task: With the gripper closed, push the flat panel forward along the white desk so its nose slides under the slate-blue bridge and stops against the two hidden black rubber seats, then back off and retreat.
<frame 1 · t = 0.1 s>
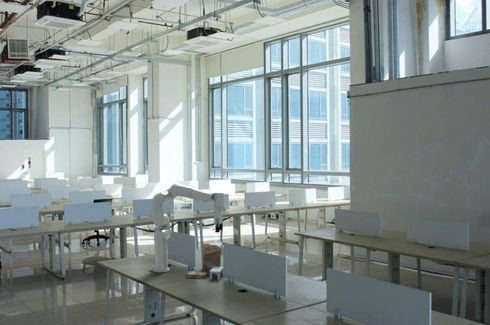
hand: (218, 231, 389), 31 cm above the table, fingers open, 9 cm apart
stone: (212, 270, 397), on the table
panel: (197, 277, 380), on the table
bridge: (216, 277, 377), on the table
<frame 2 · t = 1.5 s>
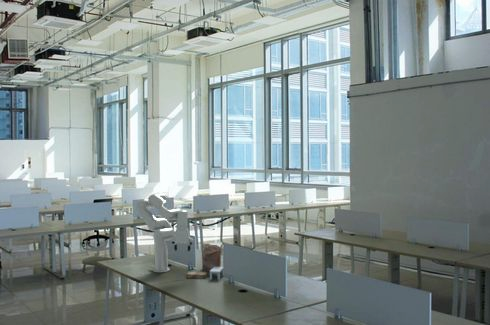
hand: (182, 250, 381), 18 cm above the table, fingers open, 9 cm apart
nothing on the table moved.
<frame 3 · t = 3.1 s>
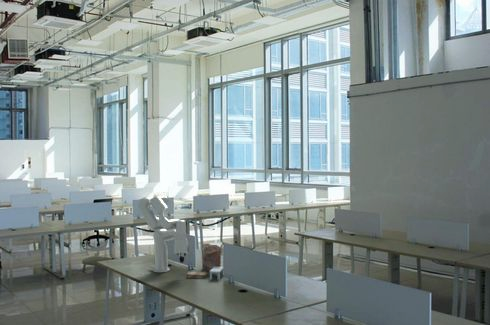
hand: (181, 262, 381), 10 cm above the table, fingers closed
nothing on the table moved.
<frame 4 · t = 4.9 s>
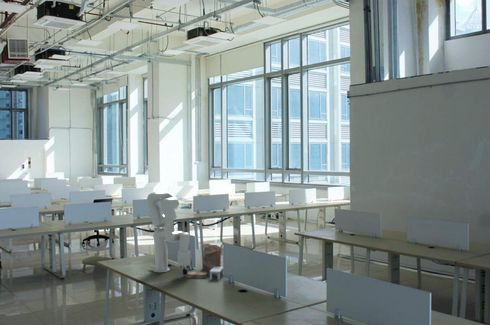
hand: (184, 274, 381), 1 cm above the table, fingers closed
nothing on the table moved.
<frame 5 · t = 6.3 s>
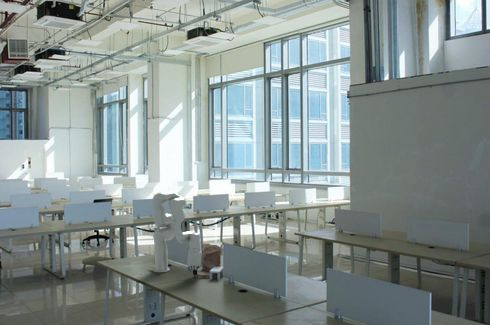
hand: (195, 275, 380), 1 cm above the table, fingers closed
panel: (207, 277, 379), on the table
everything else where it was.
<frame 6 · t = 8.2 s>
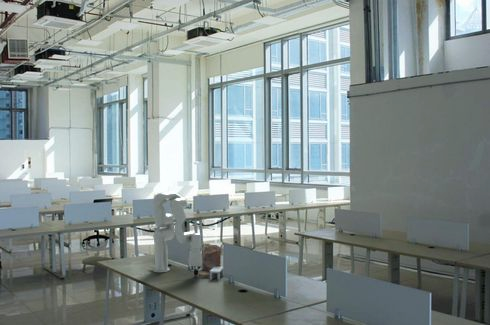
hand: (196, 275, 380), 1 cm above the table, fingers closed
panel: (209, 277, 380), on the table
everything else where it was.
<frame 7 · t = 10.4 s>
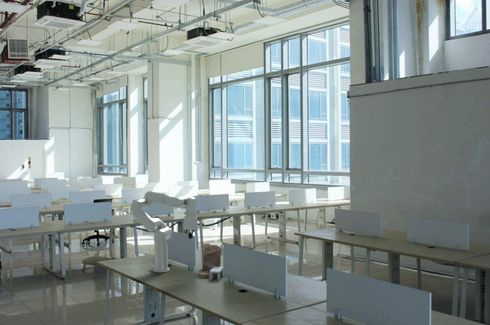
hand: (190, 238, 390), 26 cm above the table, fingers closed
nothing on the table moved.
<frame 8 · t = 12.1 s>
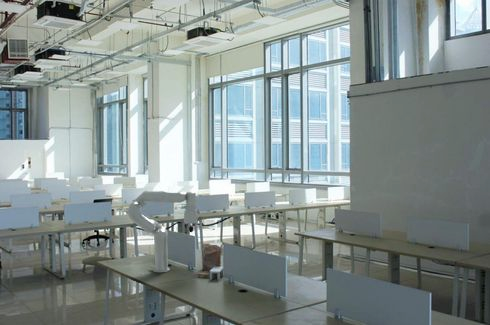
hand: (191, 231, 399), 29 cm above the table, fingers closed
nothing on the table moved.
at the end: panel 1.6 cm from the target spot on the table beside the bridge, on the table; panel tilted 0°; the gripper is holding nothing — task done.
